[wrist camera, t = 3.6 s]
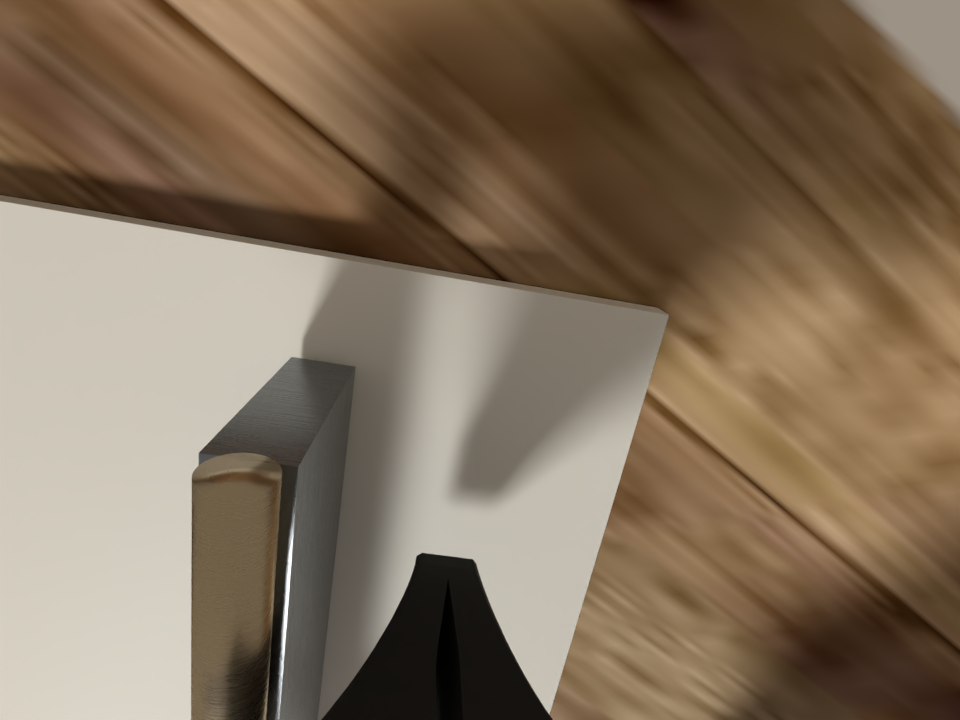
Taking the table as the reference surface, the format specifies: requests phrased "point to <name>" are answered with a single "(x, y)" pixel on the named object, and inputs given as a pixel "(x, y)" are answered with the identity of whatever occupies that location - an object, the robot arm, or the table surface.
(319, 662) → the gate
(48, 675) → the gate board
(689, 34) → the table surface
